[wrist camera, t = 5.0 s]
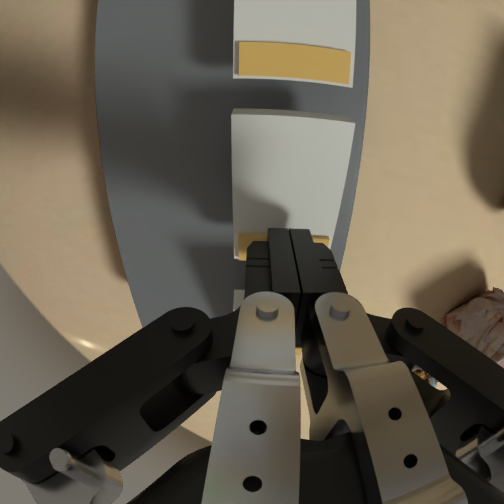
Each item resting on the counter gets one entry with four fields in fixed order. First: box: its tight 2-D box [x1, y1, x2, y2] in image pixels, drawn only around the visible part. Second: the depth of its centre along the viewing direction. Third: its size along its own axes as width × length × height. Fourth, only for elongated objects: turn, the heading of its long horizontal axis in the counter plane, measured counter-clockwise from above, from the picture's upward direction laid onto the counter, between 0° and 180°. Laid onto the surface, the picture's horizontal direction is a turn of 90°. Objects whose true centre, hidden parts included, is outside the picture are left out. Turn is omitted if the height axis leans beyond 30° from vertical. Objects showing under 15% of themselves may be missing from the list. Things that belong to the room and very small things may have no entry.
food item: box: [446, 287, 504, 368], centre depth 20 cm, size 14×8×10 cm, turn 38°
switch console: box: [95, 0, 370, 327], centre depth 14 cm, size 22×12×4 cm, turn 179°
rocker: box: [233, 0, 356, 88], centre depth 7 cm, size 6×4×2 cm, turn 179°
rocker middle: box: [231, 108, 355, 260], centre depth 11 cm, size 6×4×2 cm, turn 179°
